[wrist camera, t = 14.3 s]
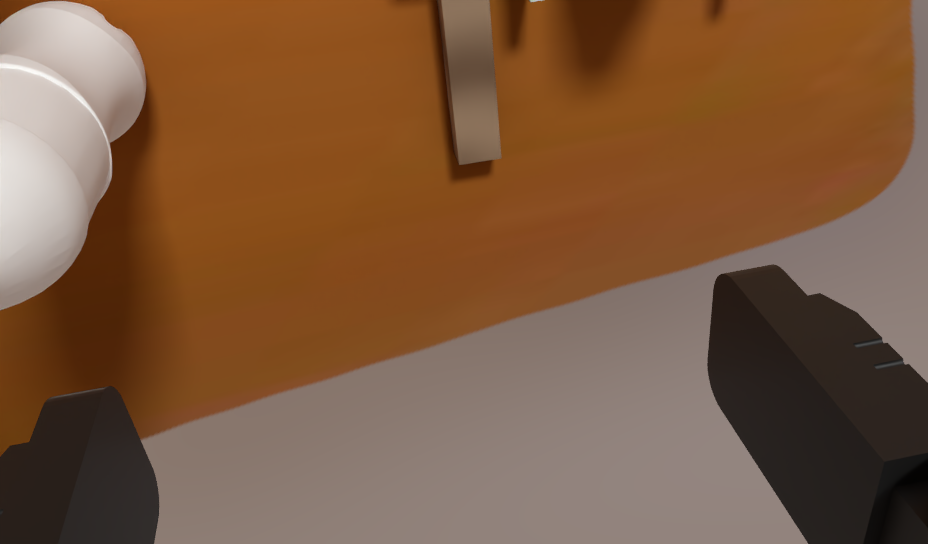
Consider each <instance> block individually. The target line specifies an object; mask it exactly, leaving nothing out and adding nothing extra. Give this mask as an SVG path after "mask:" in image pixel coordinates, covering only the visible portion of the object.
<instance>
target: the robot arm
mask: <svg viewBox="0 0 928 544" xmlns="http://www.w3.org/2000/svg"><path fill="white" fill-rule="evenodd" d="M708 375H709V380H710V385H711V388H712V391H713V394H714V397H715V399H716V401H717V403H718V405H719V407H720V409H721V410H722V412H723V413H724V415H725V416H726V418H727V419H728V421H729V422H730V424H731V425H732V427H733V428H734V430H735V432H736V433H737V435H738V436H739V438H740V439H741V441H742V442H743V444H744V445H745V447H746V448H747V450H748V452H749V453H750V455H751V456H752V458H753V459H754V461H755V462H756V464H757V465H758V467H759V468H760V470H761V472H762V473H763V475H764V476H765V478H766V479H767V481H768V482H769V484H770V485H771V487H772V488H773V490H774V491H775V493H776V495H777V496H778V498H779V499H780V500H781V502H782V504H783V505H784V507H785V508H786V510H787V511H788V513H789V515H790V516H791V518H792V519H793V521H794V522H795V524H796V525H797V527H798V528H799V530H800V531H801V533H802V535H803V536H804V537H805V539H806V541H807V542H808V544H928V383H927V382H926V381H925V380H924V379H923V378H922V377H921V376H920V375H919V374H918V373H917V372H916V371H915V370H914V369H913V368H912V367H911V366H910V365H909V364H907V365H905V364H904V362H903V358H902V357H901V356H900V355H899V354H898V353H897V352H896V351H895V350H894V349H893V348H892V347H891V346H890V345H889V344H888V343H883V341H882V337H881V336H880V335H879V334H878V333H877V332H876V331H875V330H874V329H873V328H872V327H871V326H870V325H869V324H868V323H867V322H866V321H865V320H864V319H863V318H862V317H861V316H860V315H859V314H858V313H857V312H855V311H853V310H851V309H849V308H847V307H845V306H843V305H842V304H840V303H838V302H836V301H834V300H832V299H830V298H828V297H826V296H824V295H822V294H820V293H819V294H814V295H809V296H807V295H806V294H805V293H804V292H803V290H802V289H801V288H800V287H799V286H798V285H797V284H796V283H795V282H794V281H793V280H792V279H791V278H790V277H789V276H788V275H787V274H786V272H785V271H784V270H782V269H781V268H780V267H779V266H777V265H768V266H762V267H757V268H752V269H747V270H741V271H736V272H730V273H725V274H721V275H719V276H718V277H717V279H716V281H715V284H714V290H713V302H712V314H711V326H710V338H709V350H708ZM158 516H159V494H158V487H157V481H156V477H155V474H154V470H153V468H152V466H151V463H150V461H149V459H148V456H147V454H146V452H145V450H144V448H143V445H142V443H141V440H140V438H139V436H138V433H137V431H136V429H135V427H134V424H133V422H132V420H131V418H130V415H129V413H128V411H127V408H126V406H125V404H124V402H123V399H122V397H121V395H120V394H119V392H118V391H117V390H116V389H115V388H114V387H111V386H109V387H103V388H98V389H92V390H87V391H82V392H76V393H71V394H66V395H60V396H55V397H50V398H49V399H47V401H46V402H45V403H44V405H43V408H42V410H41V413H40V416H39V418H38V421H37V423H36V426H35V429H34V431H33V434H32V436H31V439H30V442H28V443H23V444H18V445H12V446H10V447H9V448H8V449H7V450H6V451H5V452H4V453H3V454H2V455H1V457H0V544H154V540H155V534H156V529H157V523H158Z"/></svg>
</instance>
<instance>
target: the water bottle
mask: <svg viewBox="0 0 928 544" xmlns="http://www.w3.org/2000/svg"><path fill="white" fill-rule="evenodd" d="M145 93H146V77H145V69H144V65H143V61H142V58H141V55H140V53H139V51H138V49H137V47H136V45H135V43H134V42H133V40H132V39H131V37H130V36H129V35H127V34H126V33H125V32H123V30H121V29H117V28H115V27H113V26H112V25H111V24H109V23H108V22H107V21H106V20H105V18H104V16H103V15H102V14H100V13H99V12H98V11H96V10H95V9H93V8H92V7H89V6H86V5H82V4H79V3H73V2H67V1H49V2H42V3H37V4H34V5H31V6H28V7H26V8H24V9H22V10H20V11H18V12H16V13H14V14H13V15H11V16H9V17H8V18H7V19H6V20H4V21H3V22H2V23H1V24H0V310H3V309H5V308H8V307H11V306H13V305H16V304H19V303H21V302H23V301H25V300H27V299H29V298H32V297H34V296H35V295H37V294H39V293H41V292H43V291H44V290H45V289H47V288H48V287H49V286H51V285H52V284H53V283H55V282H56V281H57V280H58V279H59V278H60V277H61V276H62V275H63V274H64V273H65V272H66V271H67V269H68V268H69V267H70V266H71V265H72V263H73V262H74V260H75V259H76V257H77V256H78V254H79V253H80V251H81V249H82V246H83V244H84V242H85V239H86V236H87V230H88V224H89V222H90V219H91V217H92V215H93V213H94V210H95V208H96V206H97V203H98V202H99V201H100V200H101V198H102V197H103V195H104V194H105V192H106V190H107V188H108V186H109V184H110V181H111V178H112V155H111V148H110V143H111V142H113V141H114V140H116V139H117V138H119V137H120V136H121V135H123V134H124V133H125V132H126V131H127V130H128V129H129V128H130V127H131V126H132V125H133V124H134V122H135V121H136V119H137V117H138V116H139V114H140V111H141V109H142V106H143V103H144V99H145Z"/></svg>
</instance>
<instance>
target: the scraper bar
mask: <svg viewBox="0 0 928 544" xmlns="http://www.w3.org/2000/svg"><path fill="white" fill-rule="evenodd" d="M437 3H438V12H439V21H440V30H441V39H442V48H443V57H444V66H445V75H446V84H447V94H448V103H449V112H450V121H451V130H452V139H453V148H454V153H455V156H456V158H457V161H458V163H459V165H463V164H469V163H476V162H482V161H488V160H494V159H500V158H501V148H500V135H499V121H498V108H497V95H496V82H495V69H494V56H493V43H492V30H491V17H490V3H489V0H437Z"/></svg>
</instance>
